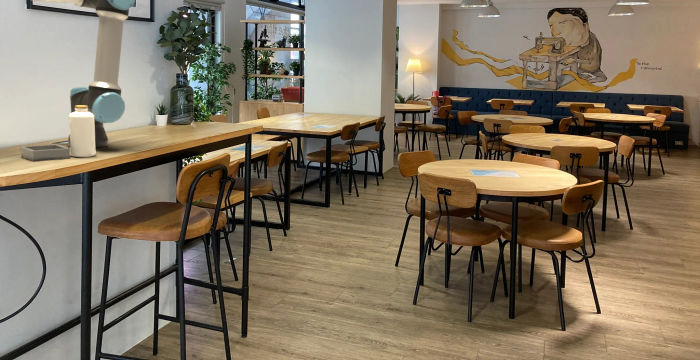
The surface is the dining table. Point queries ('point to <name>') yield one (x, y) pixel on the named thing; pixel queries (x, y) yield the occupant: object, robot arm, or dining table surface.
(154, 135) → the dining table surface
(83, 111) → the potion bottle
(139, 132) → the dining table surface
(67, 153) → the grey square tray
